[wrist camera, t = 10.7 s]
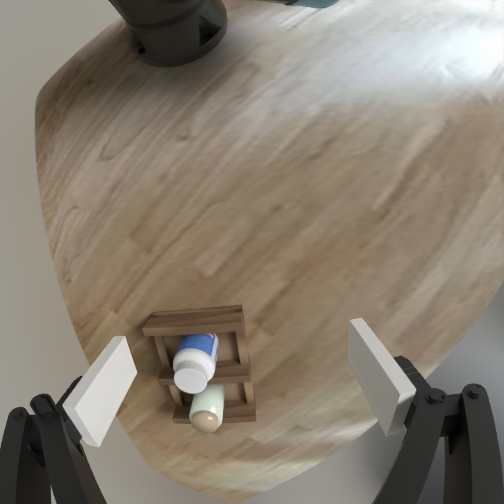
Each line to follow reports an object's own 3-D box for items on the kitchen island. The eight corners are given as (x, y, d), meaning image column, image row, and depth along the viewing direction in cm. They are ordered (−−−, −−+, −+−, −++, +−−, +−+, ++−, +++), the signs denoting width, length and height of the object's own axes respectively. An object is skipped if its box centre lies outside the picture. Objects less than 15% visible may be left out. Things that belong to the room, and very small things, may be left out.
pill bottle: (176, 332, 39) (158, 369, 29) (208, 319, 39) (198, 356, 29) (194, 360, 40) (182, 401, 30) (225, 350, 40) (220, 391, 30)
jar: (194, 374, 41) (184, 413, 32) (223, 373, 41) (218, 413, 32) (200, 396, 42) (192, 434, 33) (227, 394, 42) (224, 434, 33)
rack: (154, 311, 40) (142, 328, 34) (242, 304, 40) (241, 321, 34) (180, 402, 43) (174, 423, 38) (255, 399, 43) (256, 421, 38)
